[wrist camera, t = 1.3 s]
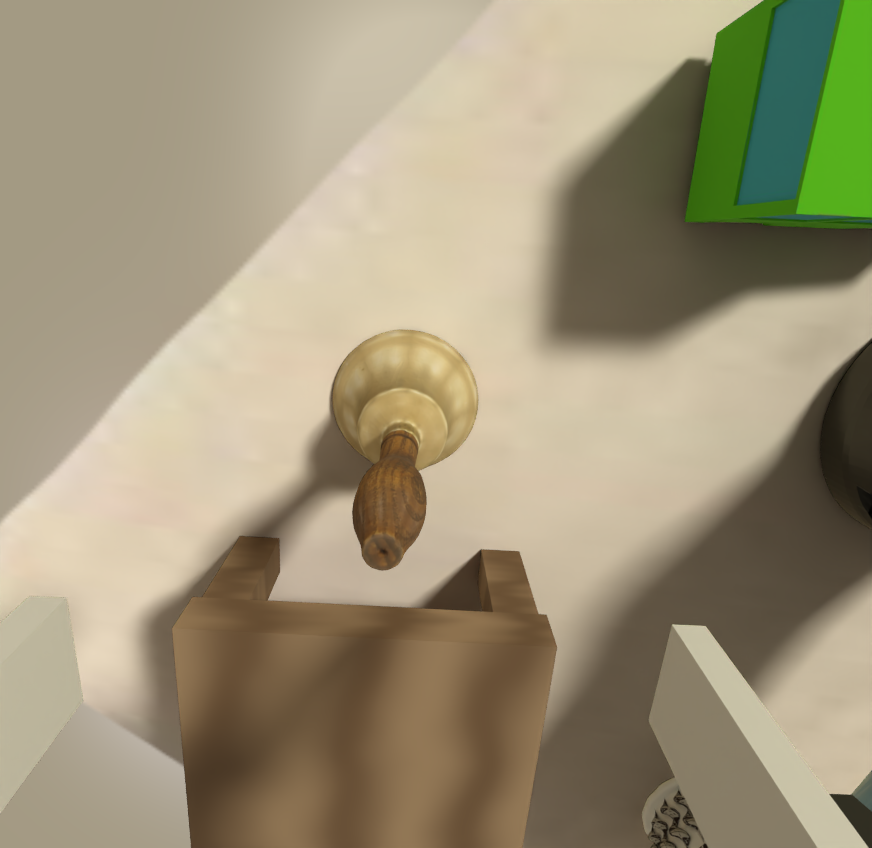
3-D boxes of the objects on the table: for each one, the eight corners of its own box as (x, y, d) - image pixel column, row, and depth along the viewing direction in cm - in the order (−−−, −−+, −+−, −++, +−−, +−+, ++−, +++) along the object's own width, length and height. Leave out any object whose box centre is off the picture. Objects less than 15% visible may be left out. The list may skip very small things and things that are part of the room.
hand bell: (440, 489, 34) (453, 693, 18) (311, 435, 32) (212, 606, 17) (502, 367, 31) (577, 485, 16) (367, 303, 30) (309, 368, 15)
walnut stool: (524, 547, 35) (557, 647, 26) (493, 763, 41) (512, 903, 32) (235, 531, 34) (171, 628, 26) (244, 754, 40) (195, 894, 31)
